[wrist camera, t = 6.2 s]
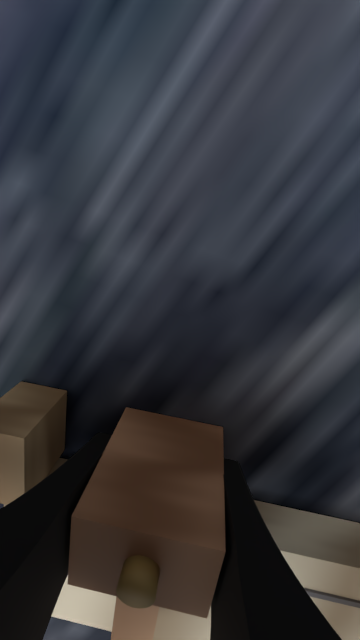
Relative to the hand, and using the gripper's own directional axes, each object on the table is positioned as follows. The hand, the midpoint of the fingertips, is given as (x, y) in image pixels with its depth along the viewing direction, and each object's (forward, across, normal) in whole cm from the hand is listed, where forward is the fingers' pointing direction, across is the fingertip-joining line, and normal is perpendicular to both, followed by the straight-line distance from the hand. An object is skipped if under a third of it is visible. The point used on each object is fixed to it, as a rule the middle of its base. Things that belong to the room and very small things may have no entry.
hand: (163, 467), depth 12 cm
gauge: (+1, 0, +3) cm, 3 cm away
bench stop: (+1, +6, 0) cm, 6 cm away
